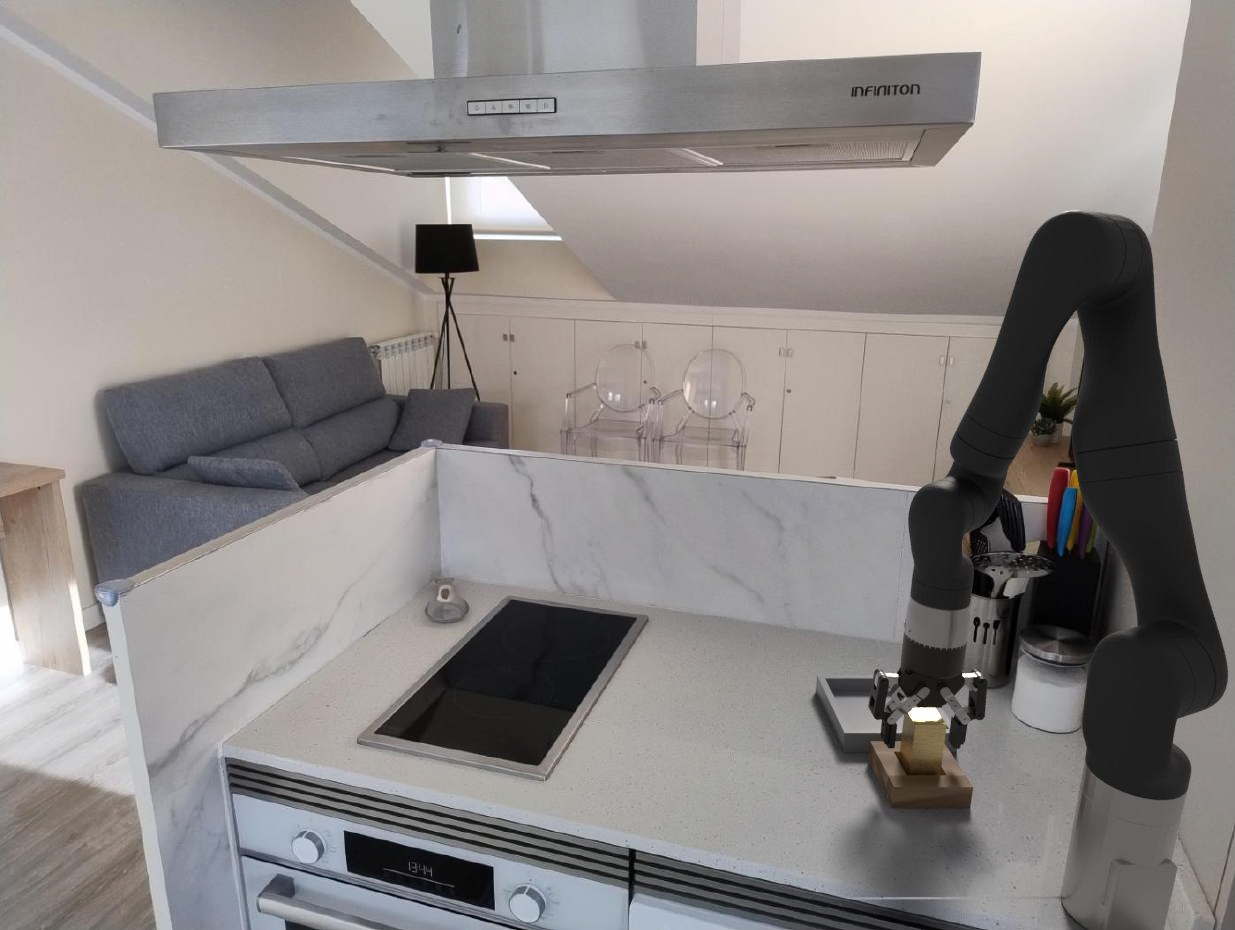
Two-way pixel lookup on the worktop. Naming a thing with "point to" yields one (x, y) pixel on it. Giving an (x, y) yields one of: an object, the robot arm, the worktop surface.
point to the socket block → (919, 781)
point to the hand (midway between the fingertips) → (921, 745)
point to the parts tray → (858, 711)
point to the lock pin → (922, 742)
